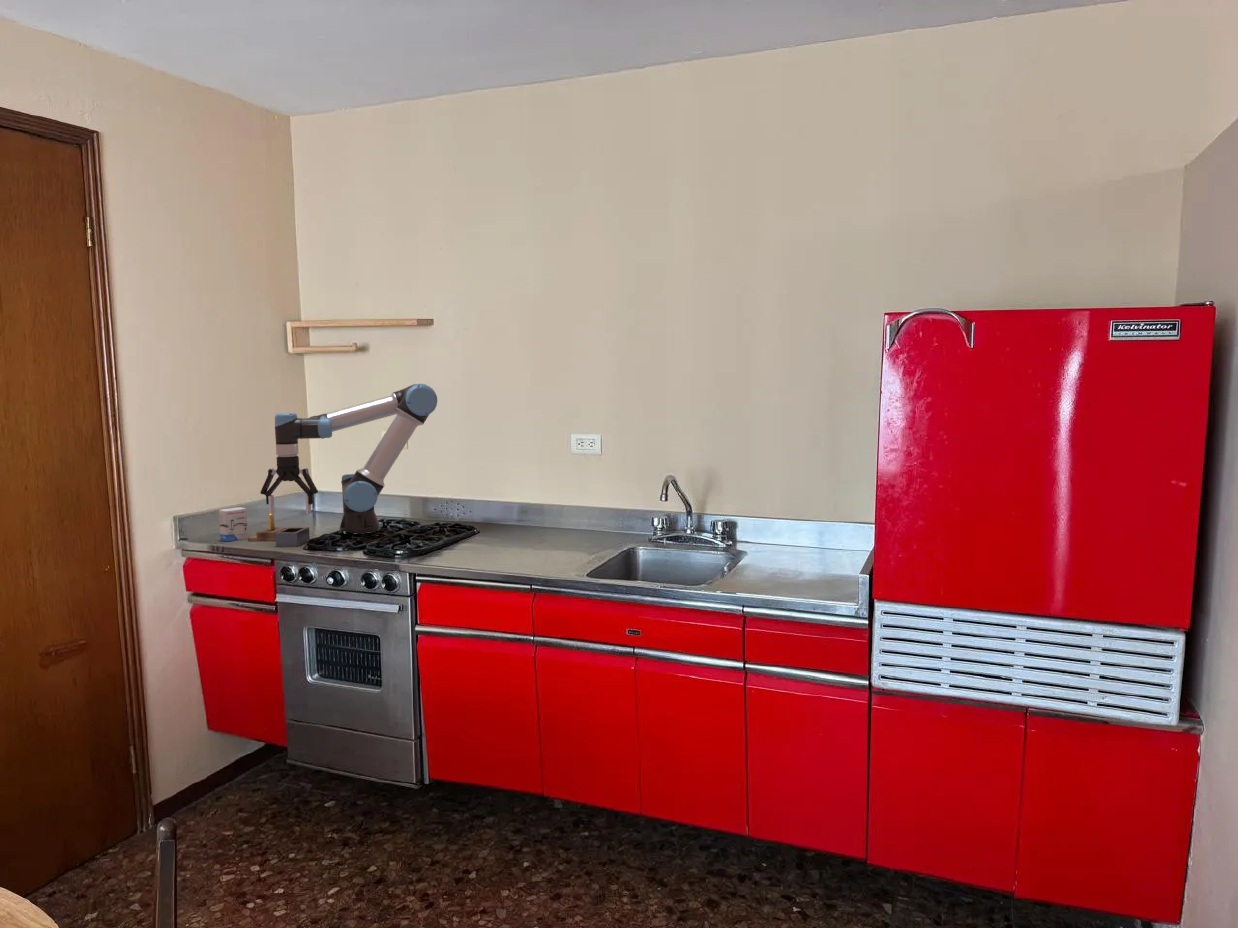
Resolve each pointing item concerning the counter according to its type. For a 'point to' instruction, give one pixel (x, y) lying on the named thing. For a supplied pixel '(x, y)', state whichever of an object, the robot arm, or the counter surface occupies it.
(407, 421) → the robot arm
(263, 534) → the stand
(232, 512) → the ink box
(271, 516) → the post
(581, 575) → the counter surface
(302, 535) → the collar
